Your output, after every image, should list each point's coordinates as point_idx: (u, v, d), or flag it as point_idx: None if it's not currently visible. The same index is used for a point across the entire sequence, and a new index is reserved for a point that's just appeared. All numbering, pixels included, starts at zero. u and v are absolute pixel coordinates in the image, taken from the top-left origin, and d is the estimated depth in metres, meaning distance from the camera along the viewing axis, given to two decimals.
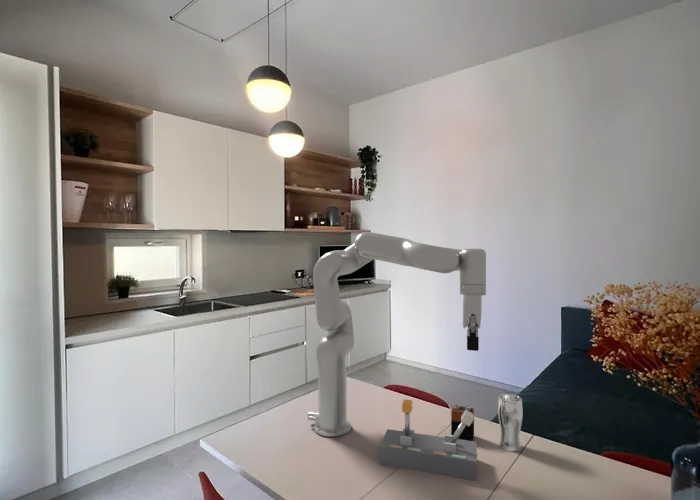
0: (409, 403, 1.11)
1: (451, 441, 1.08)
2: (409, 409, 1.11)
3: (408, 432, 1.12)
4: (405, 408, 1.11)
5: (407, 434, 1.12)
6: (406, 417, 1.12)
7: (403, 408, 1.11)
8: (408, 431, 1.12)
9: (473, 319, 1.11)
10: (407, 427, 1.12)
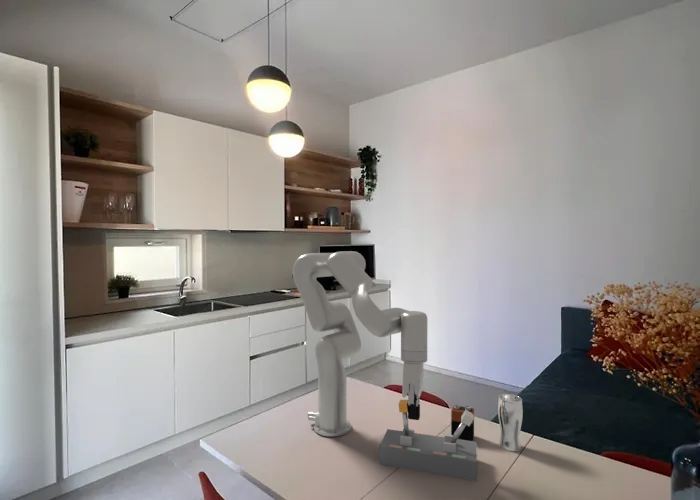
0: (405, 402, 1.12)
1: (451, 441, 1.08)
2: (406, 408, 1.11)
3: (407, 432, 1.12)
4: (402, 408, 1.11)
5: (406, 434, 1.12)
6: (404, 417, 1.12)
7: (400, 408, 1.11)
8: (407, 431, 1.12)
9: (412, 395, 1.07)
10: (406, 427, 1.12)
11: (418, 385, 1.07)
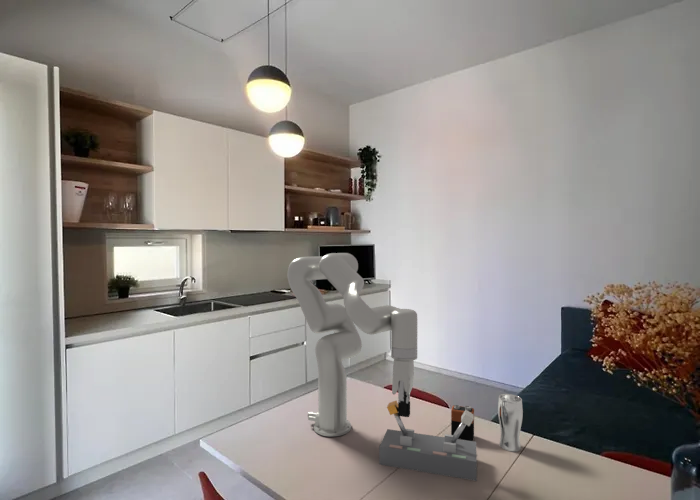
0: (393, 404, 1.13)
1: (451, 441, 1.08)
2: (395, 409, 1.12)
3: (405, 432, 1.12)
4: (391, 410, 1.12)
5: (405, 434, 1.12)
6: (396, 418, 1.13)
7: (389, 411, 1.12)
8: (404, 431, 1.12)
9: (401, 392, 1.08)
10: (402, 427, 1.12)
11: (408, 382, 1.08)
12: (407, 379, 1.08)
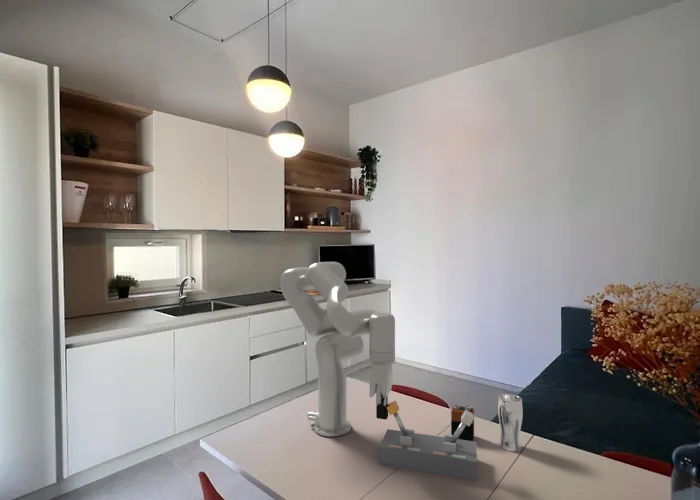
0: (392, 404, 1.13)
1: (451, 441, 1.08)
2: (394, 409, 1.12)
3: (405, 432, 1.12)
4: (391, 410, 1.12)
5: (404, 434, 1.12)
6: (396, 418, 1.13)
7: (389, 411, 1.12)
8: (404, 431, 1.12)
9: (378, 395, 1.10)
10: (401, 427, 1.12)
11: (384, 385, 1.09)
12: (384, 382, 1.09)
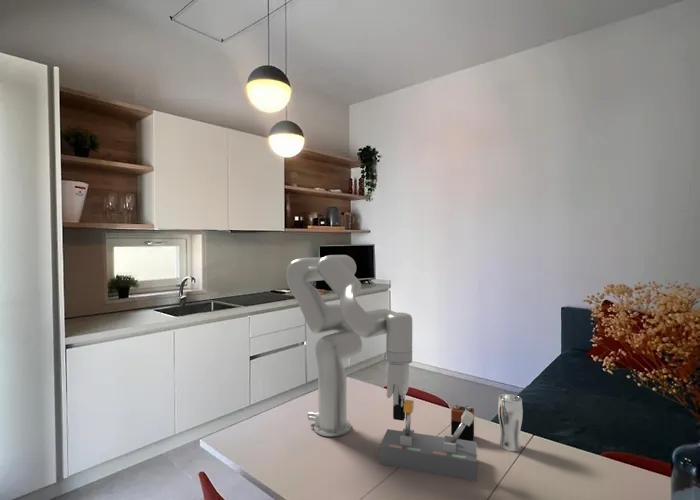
0: (411, 403, 1.11)
1: (451, 441, 1.08)
2: (410, 409, 1.10)
3: (408, 432, 1.12)
4: (406, 408, 1.11)
5: (407, 434, 1.12)
6: (407, 417, 1.12)
7: (404, 408, 1.11)
8: (408, 431, 1.12)
9: (396, 396, 1.08)
10: (408, 427, 1.12)
11: (402, 386, 1.08)
12: (402, 383, 1.08)
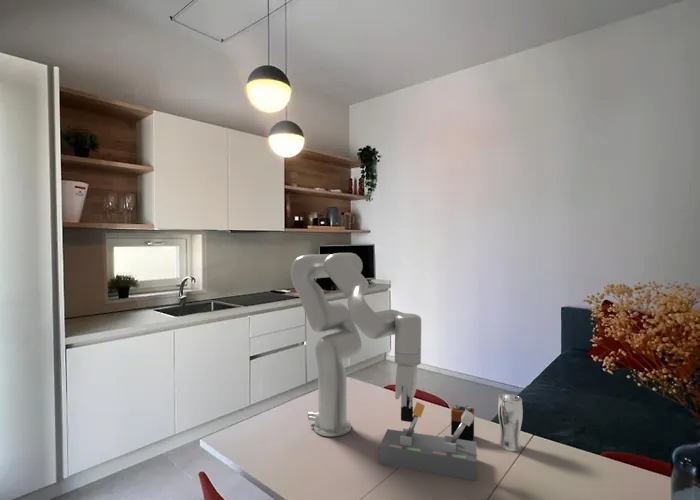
0: (422, 408, 1.10)
1: (451, 441, 1.08)
2: (420, 413, 1.10)
3: (410, 433, 1.12)
4: (416, 411, 1.10)
5: (409, 435, 1.12)
6: (414, 419, 1.11)
7: (414, 410, 1.10)
8: (411, 432, 1.12)
9: (404, 397, 1.08)
10: (411, 429, 1.11)
11: (411, 387, 1.07)
12: (410, 384, 1.07)
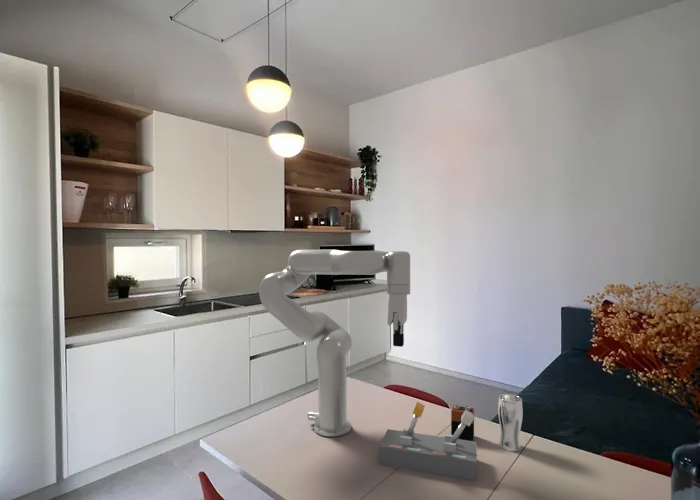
0: (422, 408, 1.10)
1: (451, 441, 1.08)
2: (420, 413, 1.10)
3: (410, 433, 1.12)
4: (416, 411, 1.10)
5: (409, 435, 1.12)
6: (414, 419, 1.11)
7: (415, 410, 1.10)
8: (411, 432, 1.12)
9: (396, 322, 1.21)
10: (411, 429, 1.11)
11: (401, 313, 1.21)
12: (401, 310, 1.21)
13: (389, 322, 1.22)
